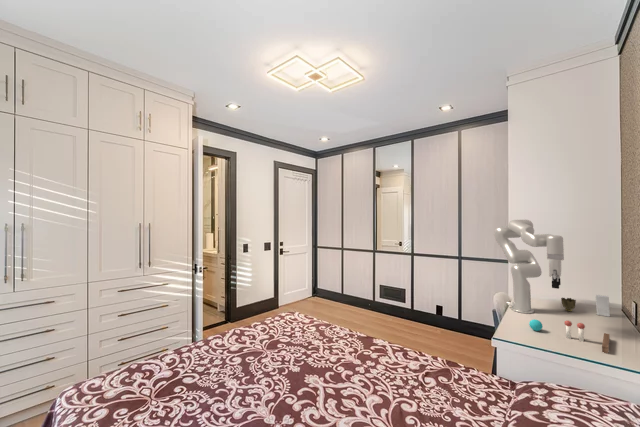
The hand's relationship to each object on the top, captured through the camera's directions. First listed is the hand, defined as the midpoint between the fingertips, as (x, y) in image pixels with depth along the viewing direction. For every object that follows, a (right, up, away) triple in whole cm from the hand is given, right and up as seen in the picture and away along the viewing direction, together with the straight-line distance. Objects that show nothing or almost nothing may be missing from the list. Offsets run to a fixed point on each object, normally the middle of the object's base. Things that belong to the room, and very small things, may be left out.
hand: (556, 286), depth 165 cm
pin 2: (-2, -23, -17) cm, 29 cm away
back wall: (+5, -23, -24) cm, 34 cm away
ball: (-15, -21, -4) cm, 26 cm away
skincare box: (+43, -22, +16) cm, 51 cm away
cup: (+29, -23, +25) cm, 44 cm away
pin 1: (-5, -24, -14) cm, 28 cm away
